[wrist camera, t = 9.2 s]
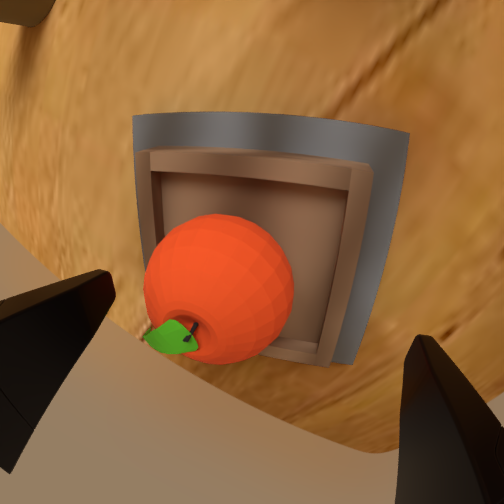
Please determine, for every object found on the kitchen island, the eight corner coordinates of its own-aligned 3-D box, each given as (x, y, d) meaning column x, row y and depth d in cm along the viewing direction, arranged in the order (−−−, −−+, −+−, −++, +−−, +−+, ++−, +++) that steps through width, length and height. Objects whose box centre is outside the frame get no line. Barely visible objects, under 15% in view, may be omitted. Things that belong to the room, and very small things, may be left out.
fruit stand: (403, 131, 14) (422, 137, 11) (352, 351, 22) (351, 390, 18) (145, 114, 18) (106, 119, 14) (162, 311, 25) (138, 340, 22)
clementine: (217, 325, 20) (170, 407, 14) (153, 241, 18) (77, 304, 12) (326, 280, 16) (312, 380, 10) (255, 170, 15) (191, 218, 8)
